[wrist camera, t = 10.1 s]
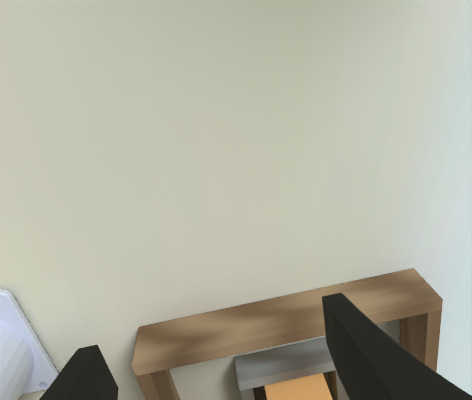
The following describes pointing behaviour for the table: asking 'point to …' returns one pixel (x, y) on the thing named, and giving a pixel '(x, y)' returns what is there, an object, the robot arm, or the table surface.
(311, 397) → the block
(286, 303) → the walled box
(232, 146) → the table surface
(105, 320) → the table surface
